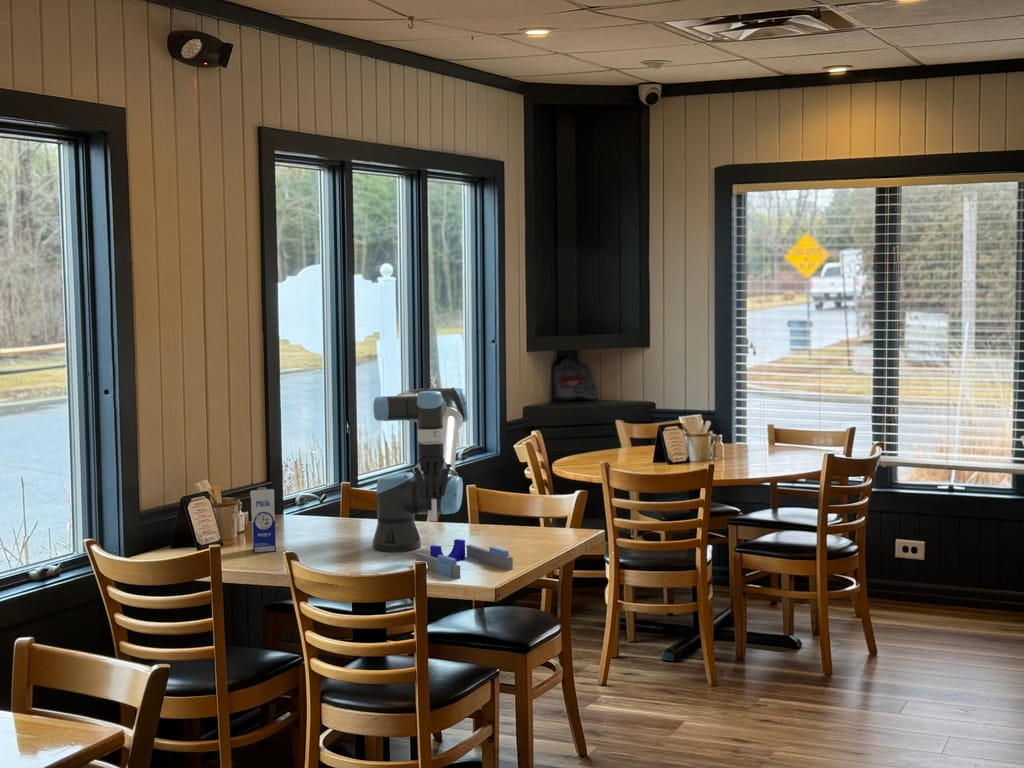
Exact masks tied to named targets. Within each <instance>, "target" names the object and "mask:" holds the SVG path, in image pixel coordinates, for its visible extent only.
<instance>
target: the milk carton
mask: <svg viewBox="0 0 1024 768" xmlns="http://www.w3.org/2000/svg"><path fill="white" fill-rule="evenodd" d="M249 494H250V508H251V509H250V510H251V511H250V514H251V538H252V540H251V541H252V551H253V554H259V553H260V554H261V553H275V552H277V546H276V545H277V543H276V541H277V540H276V515H275V489H274V488H270V489H267V487H266V486H262V487H257V488H256V489H253V490H250V492H249Z"/></svg>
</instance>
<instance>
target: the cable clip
mask: <svg viewBox="0 0 1024 768" xmlns="http://www.w3.org/2000/svg"><path fill="white" fill-rule="evenodd" d="M429 550H430V553H429V554H430V556H433V557H436V558H437V555H444V553H443V550H442V545H441V546H440V545H436V544H433V545H429ZM447 556H448V557H451V558H454V559H456V563H458V562H461V561H465V560H466V540H465V539H459V538H457V539H453V547H452V548H451V551H450V553H449V554H448V555H447Z"/></svg>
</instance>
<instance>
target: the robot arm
mask: <svg viewBox="0 0 1024 768" xmlns="http://www.w3.org/2000/svg"><path fill="white" fill-rule="evenodd" d="M467 406H468V405H467V396H466V391H465V390H464V388H461V387H447V388H446V387H445V388H443V387H441V388H438V387H437V388H434V387H433V388H432V387H431V388H430V387H429V388H416V389H412V390H406V391H403V392H401V393H398V394H397V395H391V396H385V395H383V396H377V397H375V398H374V399H373V407H372V408H373V416H374V419H375V420H376V421H377V422H378V421H379V422H380V421H381V422H382V421H383V422H388V421H390V422H392V421H393V422H394V421H407V422H408V421H409V422H413V423H417V441H418V442H419V443H418V446H417V447H418V448H417V449H418V450H417V451H418V452H417V453H418V460H417V464H415V466H411V468H410V469H411V471H412V472H411V471H409V472H407V471H406V472H397V473H392V474H387V475H383V476H381V477H379V478H378V479H377V481H376V492H375V493H376V506H377V507H376V508H377V511H376V513H377V516H376V517H377V525H376V528H375V532H374V534H373V535H374V536H373V539H372V549H373V550H374V551H377V552H378V551H379V552H385V553H386V552H387V553H388V552H389V553H390V552H391V553H397V552H408V551H413V550H417V549H420V548H421V547H422V543H421V541H422V540H421V537H420V534H419V531H418V528H417V526H416V522H415V515H427V517H428V521H431V522H437V521H438V515H449V514H456V513H457V512H459V510H460V508H461V507H462V506H461V505H462V501H463V493H464V491H463V490H464V483H463V478H462V477H461V476H459V474H458V472H457V471H456V458H457V446H458V434H459V433H458V432H459V429H461V427H462V426H463V425H464V423H467V422H468V421H469V415H468V407H467ZM422 472H423V473H422Z"/></svg>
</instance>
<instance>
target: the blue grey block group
mask: <svg viewBox="0 0 1024 768" xmlns="http://www.w3.org/2000/svg"><path fill="white" fill-rule="evenodd" d="M465 549H466V557H467V558H470V559H472V560H476V561H479V562H482V563H485V564H488V565H491V566H494V567H496V568H497V567H498V568H500V569H505V570H507V571H510V570H514V569H513V568H514V567H513V566H514V565H513V564H514V563H513V562H514V561H513V557H512V556H509V554H510V551H509V550H506V549H503V548H500V547H496V546H489V547H488V549H486V548H483V547H479V546H478V545H477V546H476V545H472V544H467V545H466V544H465ZM416 561H425V562H427V565H428V569H427V570H429V569H430V571H432V570H433V571H432V572H436V573H437V574H439V575H442V576H445V577H448V578H453V579H454V580H456V578H458V579H461V565H460V564H457V562H456V559H454V558H451V557H448V555H445V554H443V555H437V558H436V557H433V556H430V555H429V554H426V553H423V552H415V562H416Z"/></svg>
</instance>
